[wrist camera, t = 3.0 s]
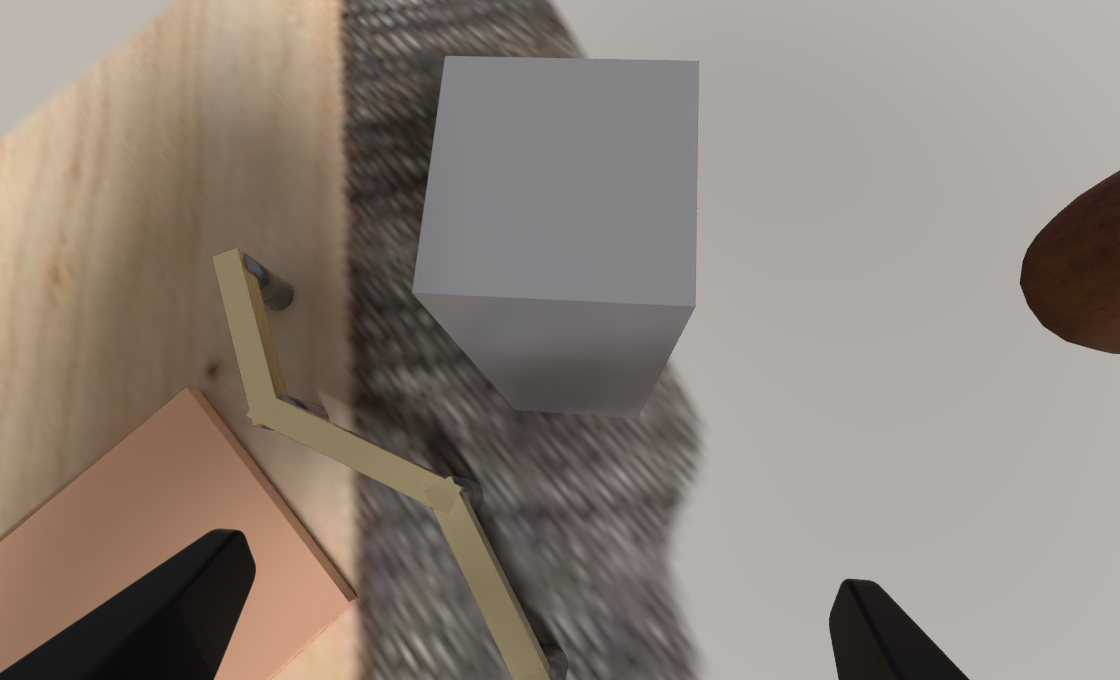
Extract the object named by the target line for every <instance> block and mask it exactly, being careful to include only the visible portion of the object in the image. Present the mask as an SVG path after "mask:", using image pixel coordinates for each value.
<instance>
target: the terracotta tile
mask: <svg viewBox="0 0 1120 680" xmlns="http://www.w3.org/2000/svg"><path fill="white" fill-rule="evenodd" d="M218 528H222V529H235V530H240V531H242V532H243V533H244V535H245V536H246V539H247V542H248V545H249V547H250V550H251V553H252V556H253V558H254V561H255V564H256V575H255V579H254V582H253V585H252V587H251V590H250V592H249V595H248V597H247V600H246V602H245V605H244V607H243V610H242V612H241V615H240V617H239V620H238V622H237V625H236V627H235V630H234V632H233V635H232V637H231V640H230V642H229V645H228V647H227V650H226V652H225V655H224V657H223V660H222V662H221V665H220V667H219V669H218V672H217V674H216V676H215V678H214V680H271V679H272V678H273V677H274V676H275V675H277V674H278V673H279V672H280V671H281V670H282V669H283V668H284V667H285V666H286V665H287V664H288V663H289V662H290V661H291V660H293V659H294V658H295V657H296V656H297V655H298V654H299V653H300V652H301V651H302V650H303V649H304V648H305V647H306V646H307V645H309V644H310V643H311V642H312V641H313V640H314V639H315V638H316V637H317V636H318V635H319V634H320V633H321V632H322V631H323V630H325V629H326V628H327V627H328V626H329V625H330V624H331V623H332V622H333V621H334V620H335V619H336V618H337V617H338V616H340V615H341V614H342V613H343V612H344V611H345V610H346V609H347V608H348V607H349V606H350V605H351V604H352V603H353V602H354V601H356V600H357V599H358V598H357V596H356V595H355V594H354V593H353V591H352V590H351V589H350V587H349V586H348V585H347V583H346V582H345V581H344V579H343V578H342V577H341V575H340V574H339V573H338V572H337V570H336V569H335V568H334V566H333V565H332V564H331V562H330V561H329V560H328V558H327V557H326V556H325V554H324V553H323V552H322V551H321V549H320V548H319V547H318V545H317V544H316V543H315V541H314V540H313V539H312V537H311V536H310V535H309V533H308V532H307V531H306V530H305V528H304V527H303V526H302V524H301V523H300V522H299V520H298V519H297V518H296V516H295V515H294V514H293V512H292V511H291V510H290V509H289V507H288V506H287V505H286V503H285V502H284V501H283V499H282V498H281V497H280V495H279V494H278V493H277V491H276V490H275V489H274V488H273V486H272V485H271V484H270V482H269V481H268V480H267V478H266V477H265V476H264V474H263V473H262V472H261V470H260V469H259V468H258V467H257V465H256V464H255V463H254V461H253V460H252V459H251V457H250V456H249V455H248V453H247V452H246V451H245V449H244V448H243V447H242V446H241V444H240V443H239V442H238V440H237V439H236V438H235V436H234V435H233V434H232V432H231V431H230V430H229V428H228V427H227V426H226V424H225V423H224V422H223V421H222V419H221V418H220V417H219V415H218V414H217V413H216V411H215V410H214V409H213V407H212V406H211V405H210V403H209V402H208V401H207V400H206V398H205V397H204V396H203V394H202V393H201V392H200V391H199V390H195V389H191V388H188V387H186V388H184V389H183V390H182V391H181V392H180V393H178V394H177V395H176V396H175V397H174V398H172V399H171V400H170V401H169V402H168V403H166V404H165V405H164V406H163V407H162V408H160V409H159V410H158V411H157V412H156V413H154V414H153V415H152V416H151V417H150V418H148V419H147V420H146V421H145V422H144V423H142V424H141V425H140V426H139V427H138V428H136V429H135V430H134V431H133V432H132V433H130V434H129V435H128V436H127V437H126V438H124V439H123V440H122V441H121V442H120V443H118V444H117V445H116V446H115V447H114V448H113V449H111V450H110V451H109V452H108V453H107V454H105V455H104V456H103V457H102V458H101V459H99V460H98V461H97V462H96V463H95V464H93V465H92V466H91V467H90V468H89V469H87V470H86V471H85V472H84V473H83V474H81V475H80V476H79V477H78V478H77V479H75V480H74V481H73V482H72V483H71V484H69V485H68V486H67V487H66V488H65V489H63V490H62V491H61V492H60V493H59V494H57V495H56V496H55V497H54V498H53V499H51V500H50V501H49V502H48V503H47V504H45V505H44V506H43V507H42V508H41V509H39V510H38V511H37V512H36V513H35V514H33V515H32V516H31V517H30V518H29V519H27V520H26V521H25V522H24V523H23V524H21V525H20V526H19V527H18V528H17V529H15V530H14V531H13V532H12V533H11V534H9V535H8V536H7V537H6V538H5V539H3V540H2V541H1V542H0V672H2V671H3V670H5V669H6V668H8V667H9V666H10V665H12V664H13V663H15V662H16V661H18V660H19V659H21V658H22V657H24V656H25V655H27V654H28V653H30V652H31V651H33V650H34V649H36V648H37V647H39V646H40V645H42V644H43V643H45V642H46V641H48V640H49V639H50V638H52V637H53V636H55V635H56V634H58V633H59V632H61V631H62V630H64V629H65V628H67V627H68V626H70V625H71V624H73V623H74V622H76V621H77V620H79V619H80V618H82V617H83V616H85V615H86V614H88V613H89V612H90V611H92V610H93V609H95V608H96V607H98V606H99V605H101V604H102V603H104V602H105V601H107V600H108V599H110V598H111V597H113V596H114V595H116V594H117V593H119V592H120V591H122V590H123V589H125V588H126V587H128V586H129V585H130V584H132V583H133V582H135V581H136V580H138V579H139V578H141V577H142V576H144V575H145V574H147V573H148V572H150V571H151V570H153V569H154V568H156V567H157V566H159V565H160V564H162V563H163V562H165V561H166V560H168V559H169V558H170V557H172V556H173V555H175V554H176V553H178V552H179V551H181V550H182V549H184V548H185V547H187V546H188V545H190V544H191V543H193V542H194V541H196V540H197V539H199V538H200V537H202V536H203V535H205V534H206V533H208V532H209V531H211V530H214V529H218Z"/></svg>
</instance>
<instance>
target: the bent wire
mask: <svg viewBox="0 0 1120 680" xmlns="http://www.w3.org/2000/svg"><path fill="white" fill-rule="evenodd" d="M212 259H213V263H214V267H215V271H216V276H217V280H218V284H219V288H220V292H221V296H222V300H223V304H224V308H225V312H226V316H227V321H228V325H229V329H230V333H231V337H232V341H233V345H234V349H235V353H236V357H237V361H238V366H239V370H240V374H241V378H242V382H243V386H244V390H245V394H246V398H247V402H248V406H249V412H248V413H247V415H246V416H247V417H249V418H251V419H252V423H253V426H258V427H262V428H265V429H269V430H274V431H277V432H279V433H281V434H283V435H285V436H287V437H289V438H291V439H294V440H296V441H298V442H300V443H302V444H304V445H306V446H308V447H310V448H312V449H314V450H316V451H318V452H320V453H322V454H324V455H326V456H328V457H330V458H332V459H334V460H336V461H338V462H340V463H342V464H344V465H346V466H349V467H351V468H353V469H355V470H357V471H359V472H361V473H363V474H365V475H367V476H369V477H371V478H373V479H375V480H377V481H379V482H381V483H383V484H385V485H387V486H389V487H391V488H393V489H395V490H397V491H399V492H401V493H404V494H406V495H408V496H410V497H412V498H414V499H416V500H418V501H420V502H422V503H424V504H426V505H428V506H430V507H431V509H432V510H433V511H434V513H435V515H436V517H437V519H438V521H439V523H440V525H441V528H442V530H443V532H444V534H445V536H446V538H447V540H448V542H449V544H450V547H451V549H452V551H453V553H454V555H455V557H456V559H457V561H458V563H459V566H460V568H461V570H462V572H463V574H464V576H465V578H466V580H467V582H468V585H469V587H470V589H471V591H472V593H473V595H474V597H475V599H476V601H477V604H478V606H479V608H480V610H481V612H482V614H483V616H484V618H485V620H486V623H487V625H488V627H489V629H490V631H491V633H492V635H493V637H494V640H495V642H496V644H497V646H498V648H499V650H500V652H501V654H502V656H503V659H504V661H505V663H506V665H507V667H508V669H509V671H510V673H511V675H512V678H513V680H566V676H567V669H568V662H567V658H566V656H565V654H564V653H563V651H562V650H560V649H559V648H558V647H555V646H551V645H549V646H544V647H542V648H541V647H540V645H539V643H538V641H537V639H536V637H535V635H534V633H533V631H532V629H531V626H530V624H529V622H528V620H527V618H526V616H525V614H524V612H523V610H522V608H521V606H520V604H519V602H518V600H517V598H516V596H515V594H514V592H513V590H512V588H511V586H510V584H509V582H508V580H507V578H506V576H505V574H504V572H503V570H502V567H501V565H500V563H499V561H498V559H497V557H496V555H495V553H494V551H493V549H492V547H491V545H490V543H489V541H488V539H487V537H486V535H485V533H484V531H483V529H482V527H481V525H480V523H479V521H478V519H477V517H476V515H475V513H474V511H476V510H477V509H478V508H479V507H480V506H481V504H482V501H483V490H482V488H481V486H480V485H479V484H478V483H477V482H476V481H474V480H471V479H465V478H460V477H454V476H442V475H440V474H438V473H436V472H434V471H432V470H430V469H428V468H425V467H423V466H421V465H419V464H417V463H415V462H413V461H411V460H409V459H407V458H405V457H403V456H400V455H398V454H396V453H394V452H392V451H390V450H388V449H386V448H384V447H382V446H380V445H378V444H375V443H373V442H371V441H369V440H367V439H365V438H363V437H361V436H359V435H357V434H355V433H353V432H350V431H348V430H346V429H344V428H342V427H340V426H338V425H336V424H334V423H332V422H330V421H328V415H327V413H326V411H325V410H324V409H323V408H321V407H318V406H315V405H312V404H309V403H306V402H304V401H301V400H298V399H295V398H292V397H289V396H288V394H287V391H286V387H285V383H284V379H283V376H282V372H281V368H280V364H279V360H278V357H277V353H276V349H275V345H274V341H273V338H272V334H271V330H270V326H269V323H268V319H267V315H266V311H265V307H264V305H265V306H266V307H268V308H270V309H272V310H280V309H283V308H285V307H286V306H287V305H289V303H290V302H291V300H292V298H293V290H292V288H291V286H290V285H289V284H288V283H286V282H285V281H283V280H282V279H281V278H279V277H278V276H276V275H275V274H274V273H272V272H271V271H269V270H268V269H267V268H265V267H264V266H262V265H261V264H259V263H258V262H257V261H255V260H254V259H252V258H251V257H250V256H248V255H247V254H245V253H244V252H243V251H241V250H240V249H238V248H234V249H232V250H229V251H226V252H224V253H221V254H218V255H216V256H213V257H212Z"/></svg>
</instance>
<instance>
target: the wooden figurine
mask: <svg viewBox="0 0 1120 680" xmlns="http://www.w3.org/2000/svg"><path fill="white" fill-rule="evenodd" d="M1020 285H1021V288H1022V290H1023V293H1024V296H1025V298H1026V301H1027V304H1028V306H1029V308H1030V309H1031V310H1032V311H1033V313H1034V314H1035V316H1036V317H1037V318H1038V320H1039V321H1040V322H1041V324H1042V325H1043V326H1044V327H1045V328H1047V329H1049V330H1050V331H1051V332H1053V333H1055V334H1056V335H1058V336H1059V337H1061V338H1062V339H1064V340H1065V341H1067V342H1070V343H1074V344H1077V345H1081V346H1084V347H1088V348H1091V349H1095V350H1099V351H1103V352H1108V353H1113V354H1120V171H1118V172H1116V173H1115V174H1113V175H1111V176H1110V177H1108V178H1106V179H1105V180H1103V181H1102V182H1100V183H1099V184H1097V185H1095V186H1094V187H1092V188H1091V189H1089V190H1088V191H1086V192H1085V193H1083V194H1081V195H1080V196H1078V197H1077V198H1076V199H1075V200H1074V201H1072V202H1071V203H1070V204H1069V205H1068V206H1067V207H1065V208H1064V209H1063V210H1062V211H1061V212H1059V213H1058V214H1057V216H1055V217H1054V218H1053V219H1052V220H1051V221H1050V222H1049V223H1048V224H1047V225H1046V226H1045V227H1044V228H1043V229H1042V230H1041V231H1040V233H1039V234H1038V235H1037V236H1036V237H1035V239H1034V240H1033V242H1032V243H1031V245H1030V246H1029V248H1028V249H1027V252H1026V254H1025V257H1024V260H1023V264H1022V271H1021V278H1020Z"/></svg>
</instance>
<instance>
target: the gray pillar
mask: <svg viewBox="0 0 1120 680" xmlns="http://www.w3.org/2000/svg"><path fill="white" fill-rule="evenodd" d="M698 89H699V61H668V60H621V59H620V60H618V59H572V58H523V57H473V56H445V61H444V68H443V75H442V82H441V90H440V97H439V104H438V111H437V118H436V125H435V132H434V139H433V147H432V154H431V161H430V168H429V175H428V182H427V189H426V196H425V204H424V211H423V218H422V225H421V232H420V239H419V246H418V253H417V260H416V268H415V275H414V282H413V289H412V293H413V294H414V296H415V297H416V298H417V299H418V300H419V301H420V302H421V304H422V305H423V306H424V307H425V308H426V309H427V310H428V311H429V313H430V314H431V315H432V316H433V317H434V318H435V319H436V321H437V322H438V323H439V324H440V325H441V326H442V327H443V329H444V330H445V331H446V332H447V333H448V334H449V335H450V337H451V338H452V339H453V340H454V341H455V342H456V343H457V345H458V346H459V347H460V348H461V349H462V350H463V351H464V352H465V354H466V355H467V356H468V357H469V358H470V359H471V360H472V362H473V363H474V364H475V365H476V366H477V367H478V368H479V370H480V371H481V372H482V373H483V374H484V375H485V376H486V378H487V379H488V380H489V381H490V382H491V383H492V384H493V386H494V387H495V388H496V389H497V390H498V391H499V392H500V393H501V395H502V396H503V397H504V398H505V399H506V400H507V401H508V403H509V404H510V405H511V406H512V407H513V408H514V409H515V410H521V411H537V412H553V413H568V414H584V415H600V416H616V417H632V418H638V416H639V415H640V413H641V411H642V409H643V407H644V405H645V403H646V401H647V399H648V397H649V395H650V393H651V391H652V389H653V388H654V386H655V384H656V382H657V380H658V378H659V376H660V374H661V372H662V370H663V368H664V366H665V364H666V362H667V361H668V359H669V357H670V355H671V353H672V351H673V349H674V347H675V345H676V343H677V341H678V339H679V337H680V335H681V334H682V331H683V330H684V328H685V326H686V324H687V322H688V320H689V318H690V316H691V314H692V312H693V310H694V308H695V302H696V300H695V298H696V296H695V295H696V231H697V230H696V228H697V159H698V91H699V90H698Z"/></svg>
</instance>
